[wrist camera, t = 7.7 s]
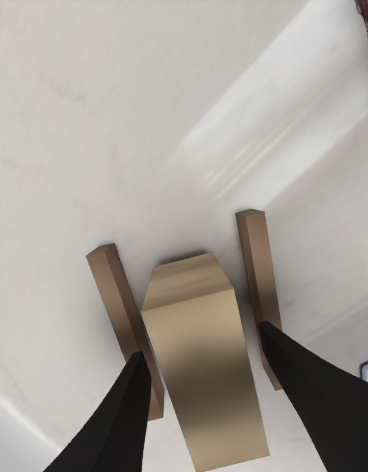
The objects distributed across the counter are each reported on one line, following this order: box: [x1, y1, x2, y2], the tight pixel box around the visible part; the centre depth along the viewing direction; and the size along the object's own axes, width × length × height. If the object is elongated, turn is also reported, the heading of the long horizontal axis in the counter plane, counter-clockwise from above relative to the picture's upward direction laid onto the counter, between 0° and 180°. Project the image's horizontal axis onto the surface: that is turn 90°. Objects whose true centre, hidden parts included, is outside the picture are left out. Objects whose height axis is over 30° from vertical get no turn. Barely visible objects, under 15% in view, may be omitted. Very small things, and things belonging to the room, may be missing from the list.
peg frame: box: [86, 209, 283, 421], centre depth 15 cm, size 14×11×2 cm
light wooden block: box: [141, 252, 270, 472], centre depth 12 cm, size 10×4×5 cm, turn 14°
